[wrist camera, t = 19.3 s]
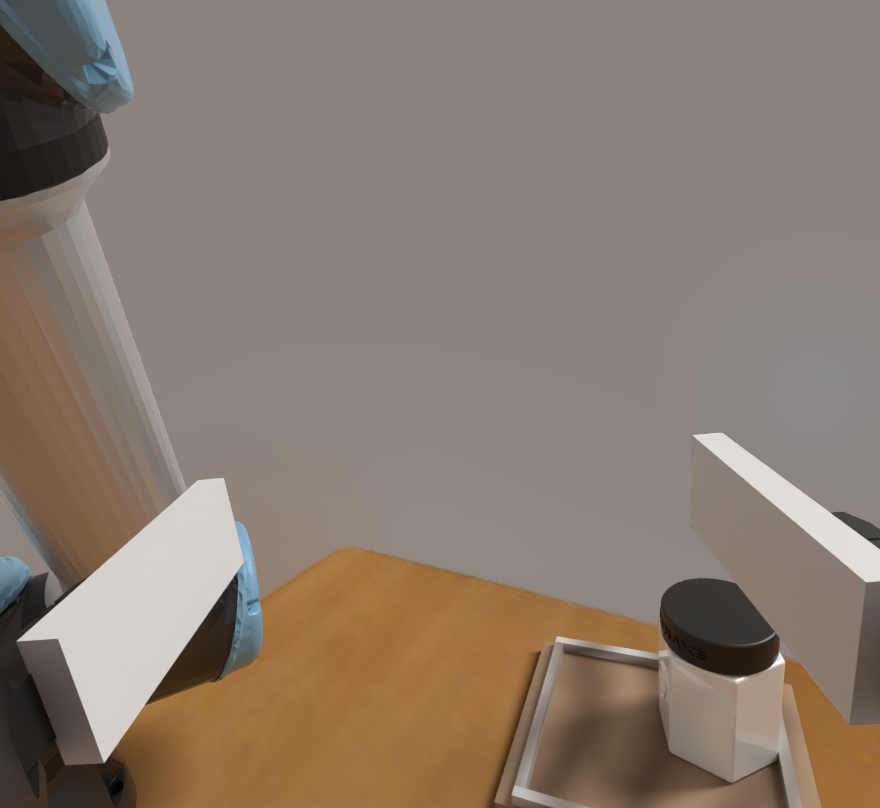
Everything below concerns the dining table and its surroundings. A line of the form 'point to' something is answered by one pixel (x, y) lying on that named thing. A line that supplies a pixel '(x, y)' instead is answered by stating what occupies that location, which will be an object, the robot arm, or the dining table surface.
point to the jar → (719, 678)
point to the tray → (628, 742)
